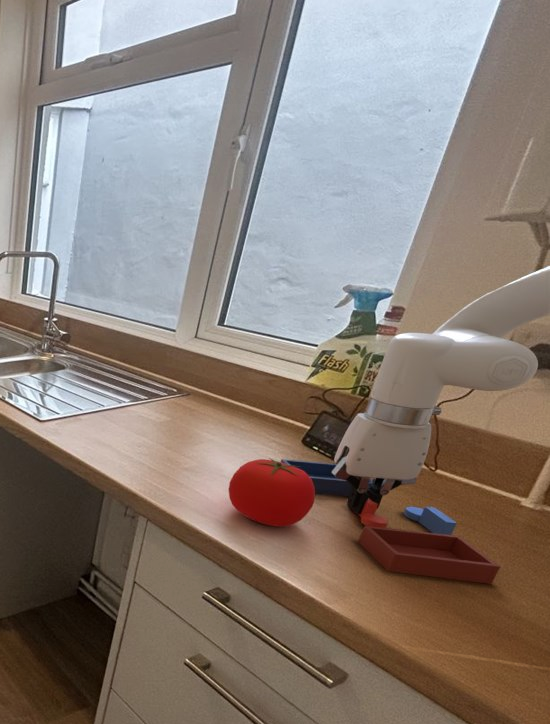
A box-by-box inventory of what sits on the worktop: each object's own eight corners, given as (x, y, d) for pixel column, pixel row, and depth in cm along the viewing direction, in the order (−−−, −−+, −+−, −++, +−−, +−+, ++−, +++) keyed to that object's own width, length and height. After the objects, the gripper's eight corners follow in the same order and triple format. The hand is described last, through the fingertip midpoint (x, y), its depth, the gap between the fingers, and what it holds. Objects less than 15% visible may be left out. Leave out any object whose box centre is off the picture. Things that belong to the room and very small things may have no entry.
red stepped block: (340, 504, 94) (346, 489, 93) (361, 506, 93) (367, 491, 92) (367, 528, 87) (373, 512, 85) (390, 530, 86) (397, 514, 85)
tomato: (312, 519, 90) (332, 464, 86) (289, 546, 83) (310, 487, 79) (238, 494, 98) (253, 442, 94) (211, 516, 91) (226, 462, 87)
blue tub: (348, 479, 103) (353, 465, 102) (372, 498, 96) (378, 483, 95) (277, 472, 106) (281, 459, 104) (295, 490, 99) (299, 476, 98)
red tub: (451, 552, 81) (459, 535, 80) (491, 584, 74) (500, 566, 73) (357, 541, 84) (364, 525, 82) (388, 571, 77) (395, 554, 76)
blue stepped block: (456, 539, 84) (464, 523, 83) (432, 537, 84) (439, 521, 83) (420, 513, 91) (427, 498, 90) (398, 511, 92) (405, 496, 91)
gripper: (439, 407, 86) (399, 504, 93) (329, 401, 89) (298, 495, 96) (475, 423, 79) (429, 527, 86) (354, 416, 83) (319, 517, 89)
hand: (360, 510), depth 91 cm, fingers closed on red stepped block, 1 cm apart
